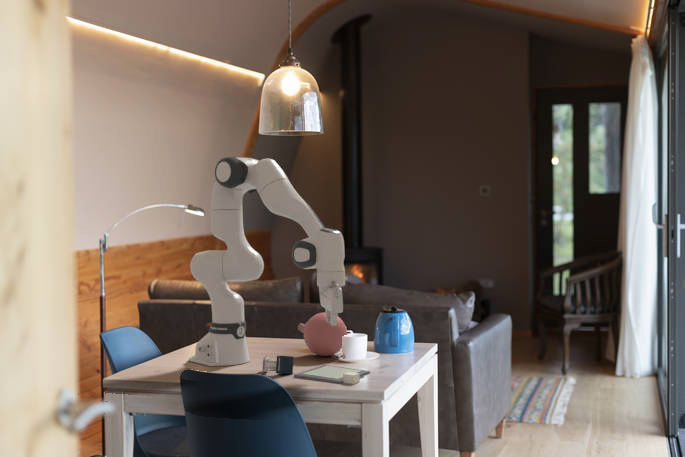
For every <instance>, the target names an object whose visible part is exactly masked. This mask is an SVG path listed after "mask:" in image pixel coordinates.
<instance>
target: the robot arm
mask: <svg viewBox="0 0 685 457" xmlns="http://www.w3.org/2000/svg"><path fill="white" fill-rule="evenodd" d="M214 176H215V180H216V181H215V182H214V184H213V186H212V191H211V196H210V197H211V198H210V232H211V234H212V235H213V236H214V237H215V238H217V239H219V240H220V241H222V242H224V243H225V245H226V247H227V248H226V249H224V250H220V249H218V250H211V249H210V250H205V251H201V252H196V253H195V254H194V255H193V256H192V258H191V260H190V264H189V267H190V269H189V270H190V272H191V274H192V276H193V278H194V279H195V280H197V281H198V282H199V283H200V284H201V285H202V286H203V287H204V288H205V290H206V292H207V294H208V296H209V300H210V303H211V313H212V314H211V316H212V317H211V319H212V321H211V322H208V323H206V325H207V326H206V327H207V328H209V329H208V333H206V334H205V335H204V336H203V337H202V338H201V339H200V340H199V341H198V342H196V344H195V350H194V352H195V353H194V354H193V355H192V356H190V357H188V361H189V362H192V363H196V364H200V365H204V366H207V367H219V366H221V367H222V366H223V367H224V366H236V365H243V364H246V363H249V362H250V361H251V358H250V354H249V350H248V344H247V343H248V342H247V337H246V331H247V327H246V326H247V323H246V320H245V303H244V302H245V300H244V299H243V297H242V296H241V295H240V294H239V293H237V292H235V291H234V290H232V289H230V287H229V285H228V283H230V282H231V283H235V282H241V283H244V282H250V281H255V280H258V279H259V278H260V277H261V276H262V274H263V272H264V268H265V262H264V260H263V257H262V255H261V254H260V253H259V252H258V251H256V250H255V249H254V248H253V247H252V246H251V245H250V243H249V241H248V240H247V237H246V235H245V230H244V216H243V215H244V214H243V212H244V211H243V199H244V195H245V194H246V193H248V194H253V193H255V192H257V193H258V195H259V197H260V199H261V201H262V203H263V204H264V206H265V207H266V208H267V210H268V211H269V212H271V213H272V214H274V215H276V216H281V217H285V218H287V219H290V220H292V221H294V222H296V223H298V224H299V225H300V226H301V227H302V230H304V231H305V233H306V235H307V236H308V237H306V238H303V239H301V240H298V241H296V242H295V244H294V245H293V247H292V249H291V250H292V251H291V257H292V258H291V259H292V261H293V263H294V265H295V266H296V267H298V268H299V269H304V270H310V269H312V270H314V269H315V270H316V285H317V287H318V293H319V294H318V295H319V301H320V302H319V303H320V306H321V307H322V308H324V309H325V312H326V317H327V322H328V323H331V325H332V326H336V325H337V318H338V317H339V314H341V313H343V311H344V300H343V290H342V287H344V286H346V269H345V265H344V261H345V257H346V254H345V240H344V236H343V234H342V232H341V231H339V230H338V229H334V228H326V227H325V226H324V224H323V223H322V221H321V220H320V218H319V217H318V215H317V214H316V213H315V211H314V210H313V209H312V207H311V206H310V205H309V203H307V201H306V200H305V199H303V198H302V197H301V195H300V194H299V193H298V192H297V191H296V189H295V188H294V186H293V184H292V183H291V182H290V179H289V177H288V176H287V175H286V173H285V171H284V170H283V168H281V166H280V165H279V164H278V163H277V162H276V160H274V159H272V158H262V159H256V158H252V157H247V156H246V157H245V156H244V157H240V156H239V157H235V156H227V157H223V158H222V159H220V160H218V161H217V163H216V165H215V169H214Z"/></svg>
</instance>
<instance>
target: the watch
mask: <svg viewBox="0 0 685 457" xmlns="http://www.w3.org/2000/svg"><path fill="white" fill-rule="evenodd" d="M269 370H275V373H276V374H281V375H294V356H293V355H292V356H291V355H276V360H270V358H269V357H268V355H265V356H263V360H262V373H268V371H269Z"/></svg>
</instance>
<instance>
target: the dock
mask: <svg viewBox="0 0 685 457" xmlns="http://www.w3.org/2000/svg"><path fill="white" fill-rule="evenodd" d="M370 374H371V371H369V370H365V369H364V370H363V369H357V368H351V367H343V366H334V365H329V364H322V365H320V366H317V367H314V368H310V369H308V370H304V371H300V372H298V373H297V372H296V373H293V378H296V379H298V378H299V379H304V380H311V381H319V382H325V383H332V384H333V383H334V384H351V385H355V384H359V383H360V382H361V380H360V379H363V378H365V376H367V375H370Z"/></svg>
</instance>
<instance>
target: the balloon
mask: <svg viewBox="0 0 685 457" xmlns="http://www.w3.org/2000/svg"><path fill="white" fill-rule="evenodd" d="M297 329H298V331H299V332H301V333H302V334H303V340H304V342H305V345H306V347H307V348H308V349H309V350H310V352H312V353H314V354H315V355H318V356H321V357H330V356H333V355H335V354H337V353H339V352H340V351H341V350H342V349H343V348H342V336H344V335H347V336H348V329H347V326H346V324H345V322H344V321H343V320H342V318H340V316H338V318H337V325H336V326H332V325H331V323H328V322H327V317H326V312H324V311H323V312H319V313H316V314H314V315H313V316H311V317H310V318H309V319H308V321H307V322H305V324H304V323H301V322H300V323H299V324H298V325H297Z"/></svg>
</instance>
